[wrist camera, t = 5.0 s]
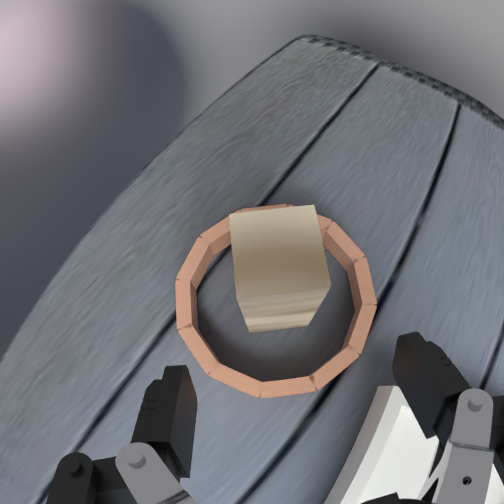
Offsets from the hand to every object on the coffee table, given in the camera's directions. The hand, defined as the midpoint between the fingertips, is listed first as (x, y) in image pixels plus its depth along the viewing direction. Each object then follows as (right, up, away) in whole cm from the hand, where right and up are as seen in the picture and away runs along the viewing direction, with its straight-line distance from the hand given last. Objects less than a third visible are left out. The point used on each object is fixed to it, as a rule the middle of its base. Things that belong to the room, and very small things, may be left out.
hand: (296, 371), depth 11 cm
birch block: (0, +1, +11) cm, 11 cm away
